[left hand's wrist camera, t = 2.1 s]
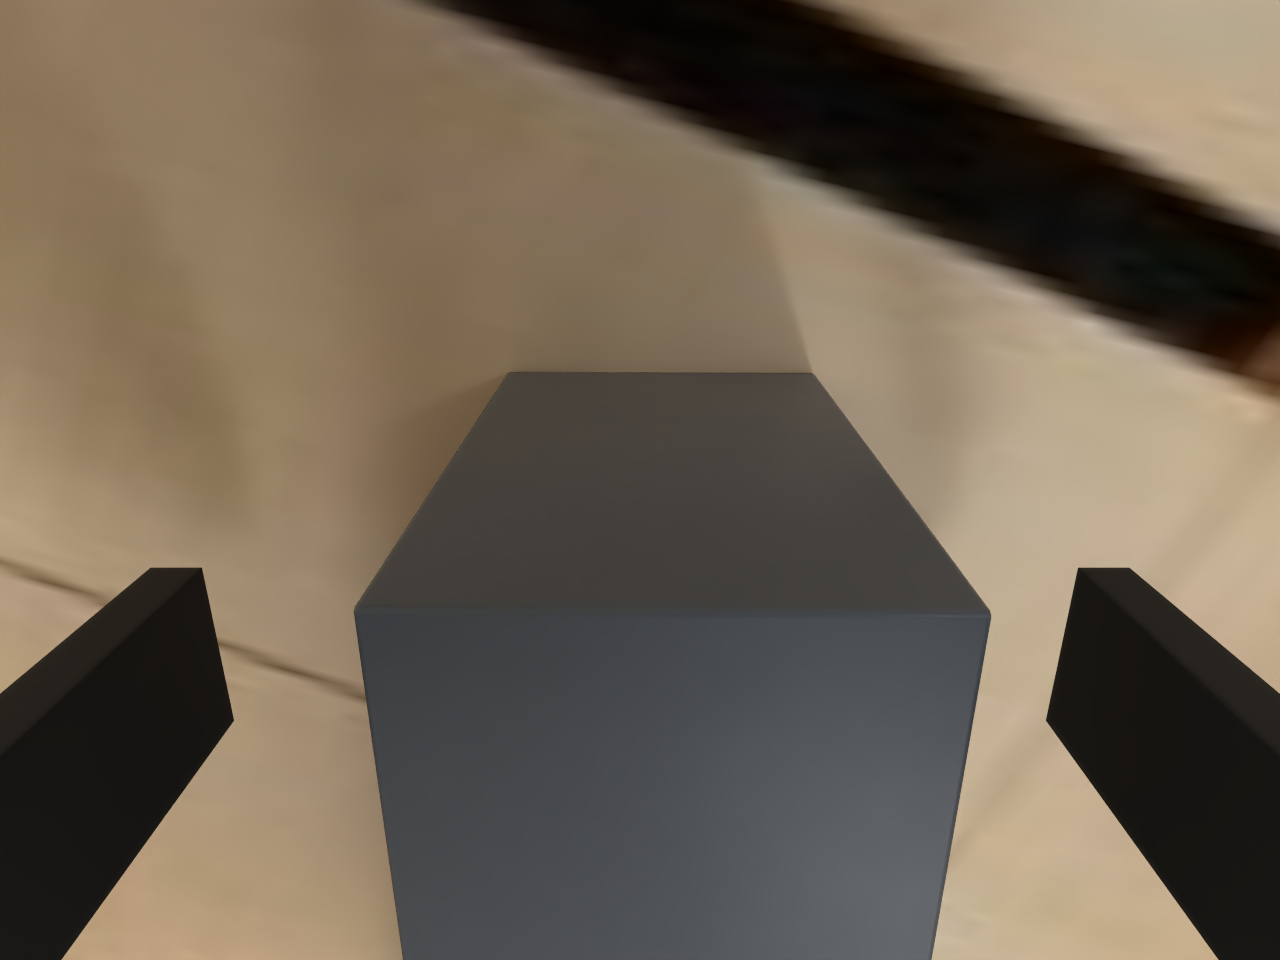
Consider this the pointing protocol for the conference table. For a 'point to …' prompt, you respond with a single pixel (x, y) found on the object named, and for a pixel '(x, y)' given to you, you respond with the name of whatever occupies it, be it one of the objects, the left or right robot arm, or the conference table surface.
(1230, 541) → the conference table surface
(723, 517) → the bar
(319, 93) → the conference table surface
